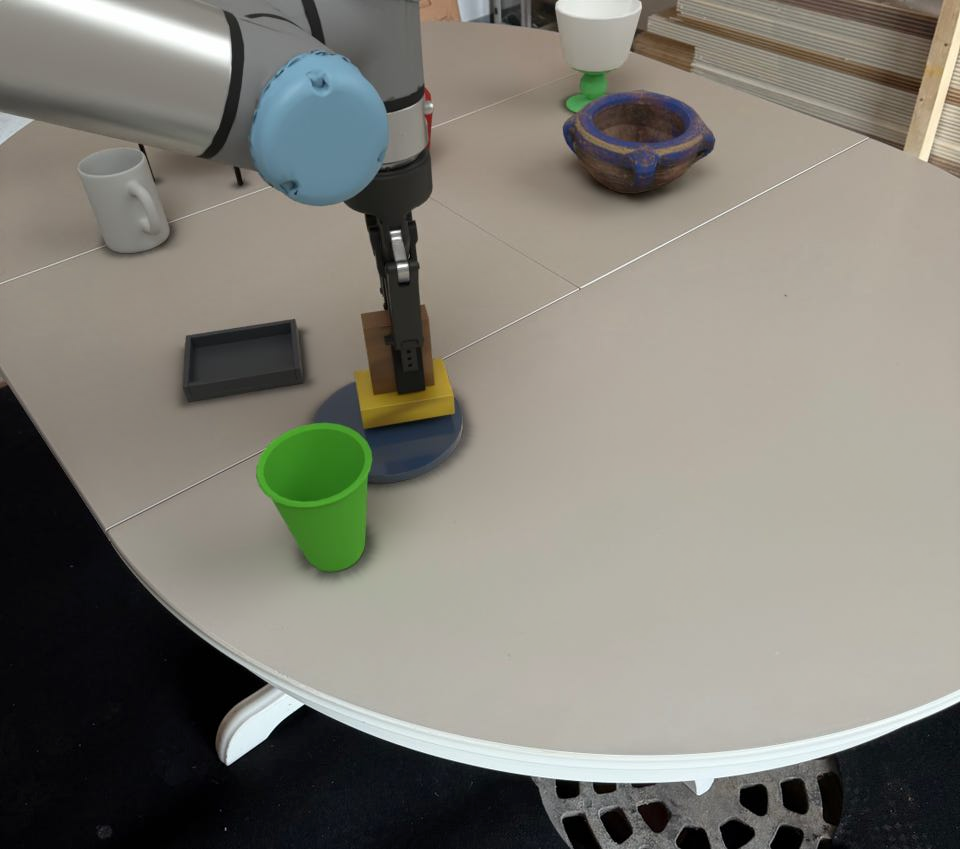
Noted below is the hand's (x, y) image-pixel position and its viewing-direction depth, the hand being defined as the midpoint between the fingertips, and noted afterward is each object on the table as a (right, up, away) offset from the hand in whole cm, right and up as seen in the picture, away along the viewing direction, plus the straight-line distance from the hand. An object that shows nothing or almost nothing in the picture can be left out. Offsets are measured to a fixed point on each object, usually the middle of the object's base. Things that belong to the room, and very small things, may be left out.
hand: (408, 379), depth 80 cm
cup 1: (-6, -15, -8) cm, 19 cm away
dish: (-19, +2, +10) cm, 22 cm away
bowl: (+29, +31, +39) cm, 58 cm away
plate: (-2, -5, +2) cm, 6 cm away
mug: (-38, +20, +31) cm, 53 cm away
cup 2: (+26, +50, +60) cm, 82 cm away
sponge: (0, -2, +2) cm, 3 cm away
